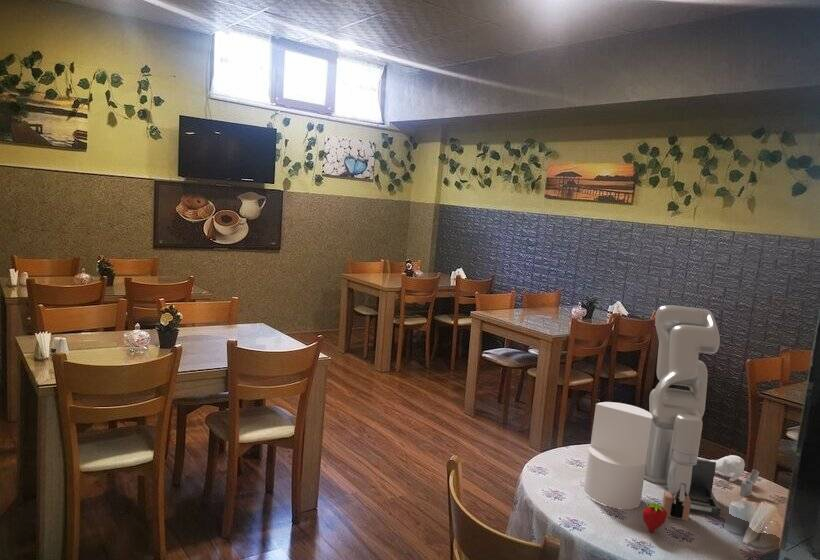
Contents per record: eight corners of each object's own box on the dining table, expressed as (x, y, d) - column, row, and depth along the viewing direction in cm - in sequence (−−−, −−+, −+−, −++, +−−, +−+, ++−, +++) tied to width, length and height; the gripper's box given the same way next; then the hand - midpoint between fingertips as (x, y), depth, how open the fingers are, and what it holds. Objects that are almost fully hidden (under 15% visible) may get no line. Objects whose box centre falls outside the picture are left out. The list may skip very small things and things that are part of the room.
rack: (680, 509, 188) (686, 472, 187) (673, 490, 202) (679, 455, 200) (719, 517, 185) (725, 479, 184) (709, 497, 199) (715, 462, 197)
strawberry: (669, 534, 172) (674, 501, 171) (652, 540, 168) (657, 506, 167) (651, 524, 177) (656, 492, 176) (634, 529, 173) (639, 496, 172)
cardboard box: (663, 515, 183) (665, 496, 182) (661, 510, 187) (664, 491, 186) (688, 520, 181) (690, 501, 181) (685, 515, 185) (688, 496, 184)
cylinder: (593, 478, 205) (604, 398, 202) (646, 496, 196) (658, 412, 192) (575, 495, 191) (586, 409, 188) (631, 515, 181) (644, 425, 178)
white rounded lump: (741, 460, 210) (704, 452, 218) (740, 484, 210) (703, 475, 218) (746, 456, 214) (710, 447, 223) (745, 479, 215) (709, 470, 223)
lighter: (744, 496, 201) (748, 473, 201) (739, 494, 203) (743, 471, 202) (756, 493, 205) (760, 470, 204) (751, 490, 207) (754, 468, 206)
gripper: (666, 443, 191) (658, 498, 193) (674, 463, 175) (665, 523, 177) (692, 448, 189) (683, 503, 191) (702, 468, 173) (693, 529, 175)
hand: (675, 512), depth 184 cm, fingers closed on cardboard box, 3 cm apart
